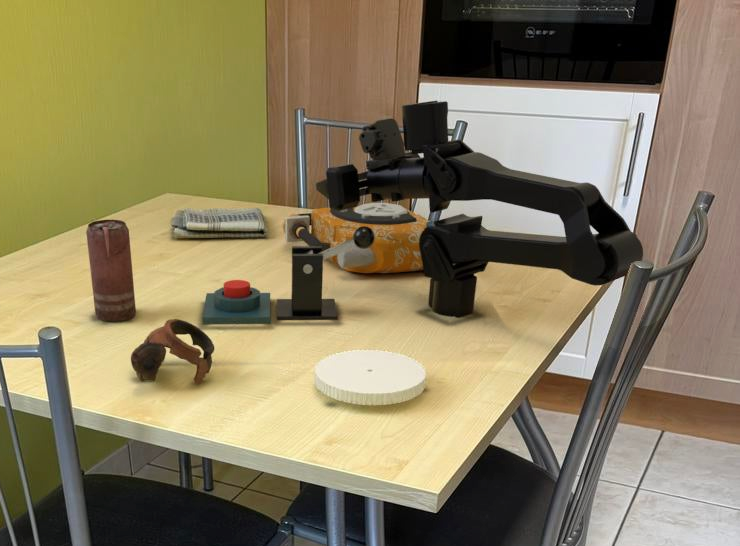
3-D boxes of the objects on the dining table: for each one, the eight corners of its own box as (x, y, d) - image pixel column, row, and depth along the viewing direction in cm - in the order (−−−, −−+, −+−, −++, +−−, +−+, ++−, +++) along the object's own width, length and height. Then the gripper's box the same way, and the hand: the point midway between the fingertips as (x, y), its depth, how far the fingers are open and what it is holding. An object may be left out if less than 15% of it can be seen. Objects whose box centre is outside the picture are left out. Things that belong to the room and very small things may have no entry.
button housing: (270, 303, 145) (270, 281, 144) (270, 328, 136) (270, 305, 134) (207, 303, 146) (206, 281, 144) (202, 328, 136) (201, 305, 134)
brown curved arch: (158, 359, 127) (186, 310, 123) (205, 403, 125) (234, 355, 121) (101, 367, 117) (128, 314, 113) (150, 415, 115) (180, 362, 111)
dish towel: (262, 215, 192) (262, 199, 190) (268, 239, 177) (268, 222, 175) (173, 217, 191) (172, 201, 189) (171, 241, 176) (170, 224, 174)
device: (329, 240, 146) (275, 197, 170) (328, 291, 150) (275, 242, 175) (459, 228, 151) (388, 188, 175) (454, 278, 155) (386, 232, 180)
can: (98, 325, 137) (88, 231, 130) (93, 311, 143) (83, 219, 135) (139, 321, 139) (131, 227, 131) (132, 308, 144) (124, 216, 137)
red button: (250, 290, 141) (250, 279, 140) (250, 299, 137) (249, 288, 136) (224, 291, 141) (224, 279, 140) (223, 299, 137) (222, 288, 137)
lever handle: (376, 240, 136) (369, 220, 135) (379, 246, 134) (371, 225, 132) (302, 273, 139) (293, 253, 137) (303, 279, 136) (294, 260, 135)
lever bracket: (334, 305, 144) (336, 243, 139) (337, 324, 137) (339, 258, 132) (276, 306, 144) (276, 243, 139) (276, 324, 137) (276, 258, 132)
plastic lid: (413, 366, 123) (415, 348, 122) (434, 411, 112) (436, 392, 110) (309, 368, 123) (309, 350, 122) (319, 414, 111) (319, 395, 110)
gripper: (448, 113, 139) (373, 121, 150) (362, 128, 129) (288, 135, 140) (452, 190, 144) (378, 192, 155) (369, 210, 133) (297, 211, 145)
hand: (337, 182), depth 148 cm, fingers open, 9 cm apart
